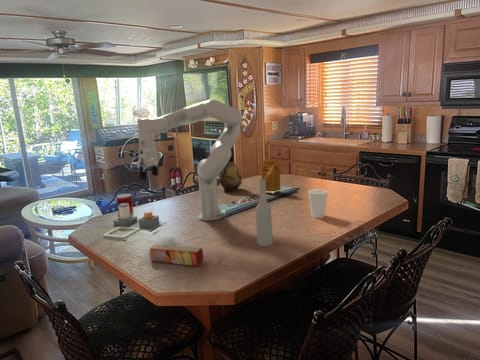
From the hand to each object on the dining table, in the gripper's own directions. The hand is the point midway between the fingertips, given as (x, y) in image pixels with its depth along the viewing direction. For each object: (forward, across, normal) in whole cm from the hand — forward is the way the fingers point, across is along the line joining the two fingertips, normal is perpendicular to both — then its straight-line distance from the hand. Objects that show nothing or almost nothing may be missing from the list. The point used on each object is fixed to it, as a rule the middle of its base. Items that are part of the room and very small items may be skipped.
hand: (149, 177), depth 182 cm
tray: (+26, -18, +4) cm, 32 cm away
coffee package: (+22, +77, -39) cm, 89 cm away
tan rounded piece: (+21, -5, -2) cm, 22 cm away
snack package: (+25, -36, -38) cm, 58 cm away
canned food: (+26, +12, +27) cm, 39 cm away
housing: (+25, -5, +6) cm, 26 cm away
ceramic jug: (+23, +78, -10) cm, 82 cm away
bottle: (+24, -8, -64) cm, 69 cm away
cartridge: (+24, -6, +13) cm, 28 cm away
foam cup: (+22, +34, -79) cm, 89 cm away
